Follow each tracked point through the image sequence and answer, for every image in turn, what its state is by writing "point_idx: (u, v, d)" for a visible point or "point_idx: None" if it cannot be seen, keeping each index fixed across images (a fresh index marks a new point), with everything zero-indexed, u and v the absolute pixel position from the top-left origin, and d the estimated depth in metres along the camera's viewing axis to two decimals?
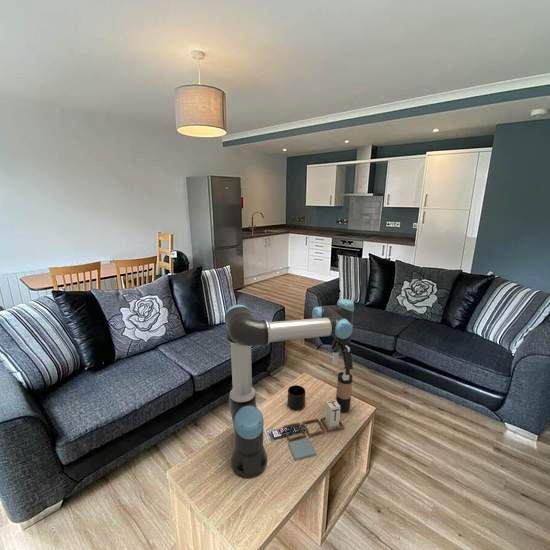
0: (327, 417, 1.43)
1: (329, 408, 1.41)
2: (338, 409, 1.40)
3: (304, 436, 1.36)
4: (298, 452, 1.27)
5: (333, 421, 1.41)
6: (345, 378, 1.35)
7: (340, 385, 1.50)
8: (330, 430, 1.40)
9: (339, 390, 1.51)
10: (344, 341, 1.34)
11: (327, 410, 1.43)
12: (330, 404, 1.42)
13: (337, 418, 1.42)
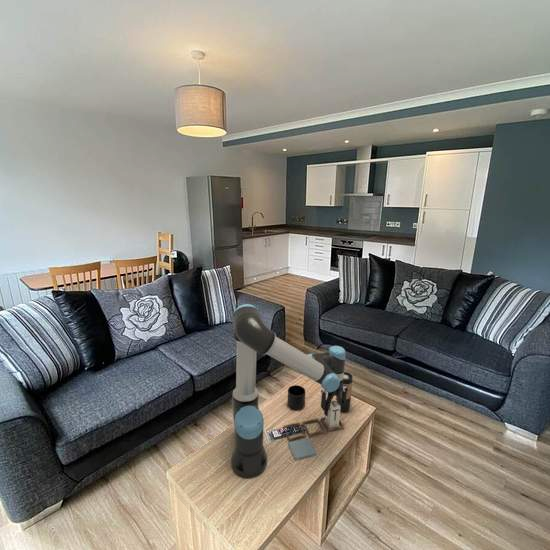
0: None
1: (329, 408, 1.41)
2: (338, 409, 1.40)
3: (304, 436, 1.36)
4: (298, 452, 1.27)
5: (333, 421, 1.41)
6: (326, 418, 1.43)
7: None
8: (330, 430, 1.40)
9: None
10: None
11: None
12: (330, 404, 1.42)
13: (337, 418, 1.42)
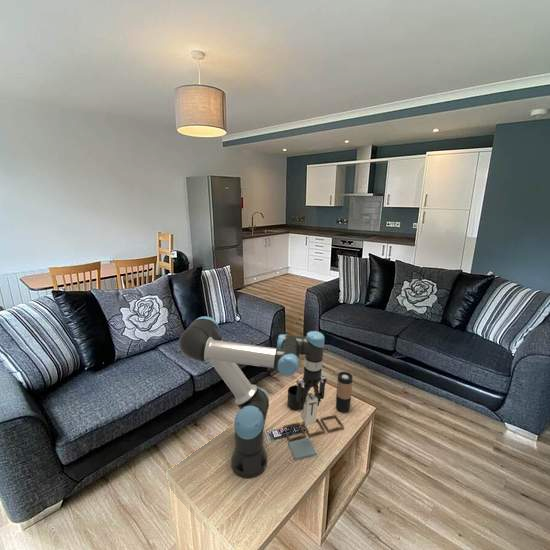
0: None
1: (305, 401, 1.26)
2: (316, 401, 1.26)
3: (304, 436, 1.36)
4: (298, 452, 1.27)
5: (310, 415, 1.27)
6: (301, 412, 1.29)
7: (340, 385, 1.50)
8: (330, 430, 1.40)
9: (339, 390, 1.51)
10: None
11: None
12: None
13: (314, 412, 1.27)
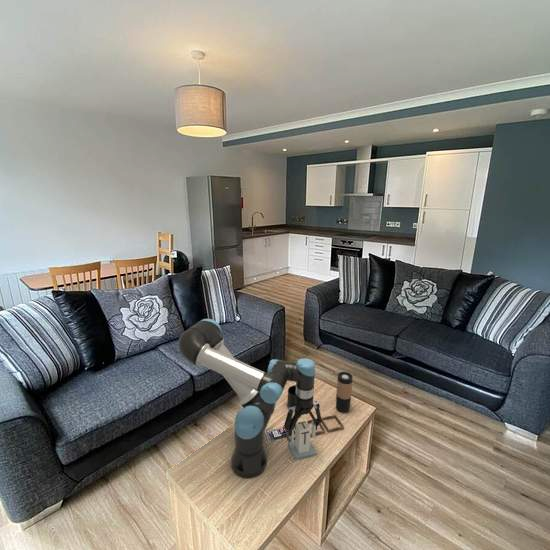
0: (296, 440, 1.28)
1: (298, 430, 1.26)
2: (308, 431, 1.25)
3: None
4: None
5: (303, 444, 1.26)
6: (290, 438, 1.27)
7: (340, 385, 1.50)
8: (330, 430, 1.40)
9: (339, 390, 1.51)
10: None
11: (296, 432, 1.28)
12: (299, 425, 1.26)
13: (307, 441, 1.26)
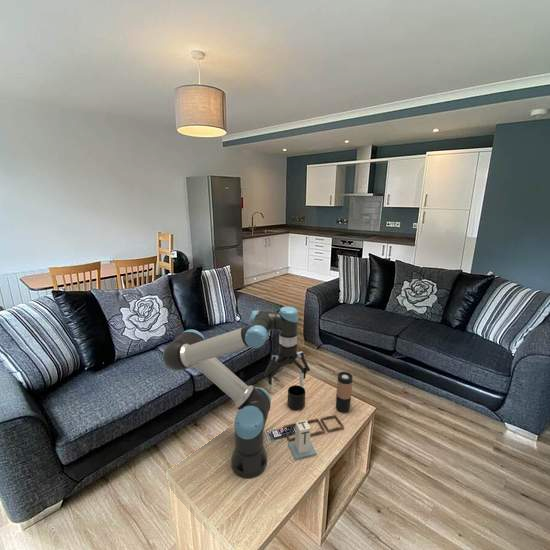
0: (296, 440, 1.28)
1: (298, 430, 1.26)
2: (308, 431, 1.25)
3: None
4: None
5: (303, 444, 1.26)
6: (270, 387, 1.25)
7: (340, 385, 1.50)
8: (330, 430, 1.40)
9: (339, 390, 1.51)
10: (279, 350, 1.22)
11: (296, 432, 1.28)
12: (299, 425, 1.26)
13: (307, 441, 1.26)
